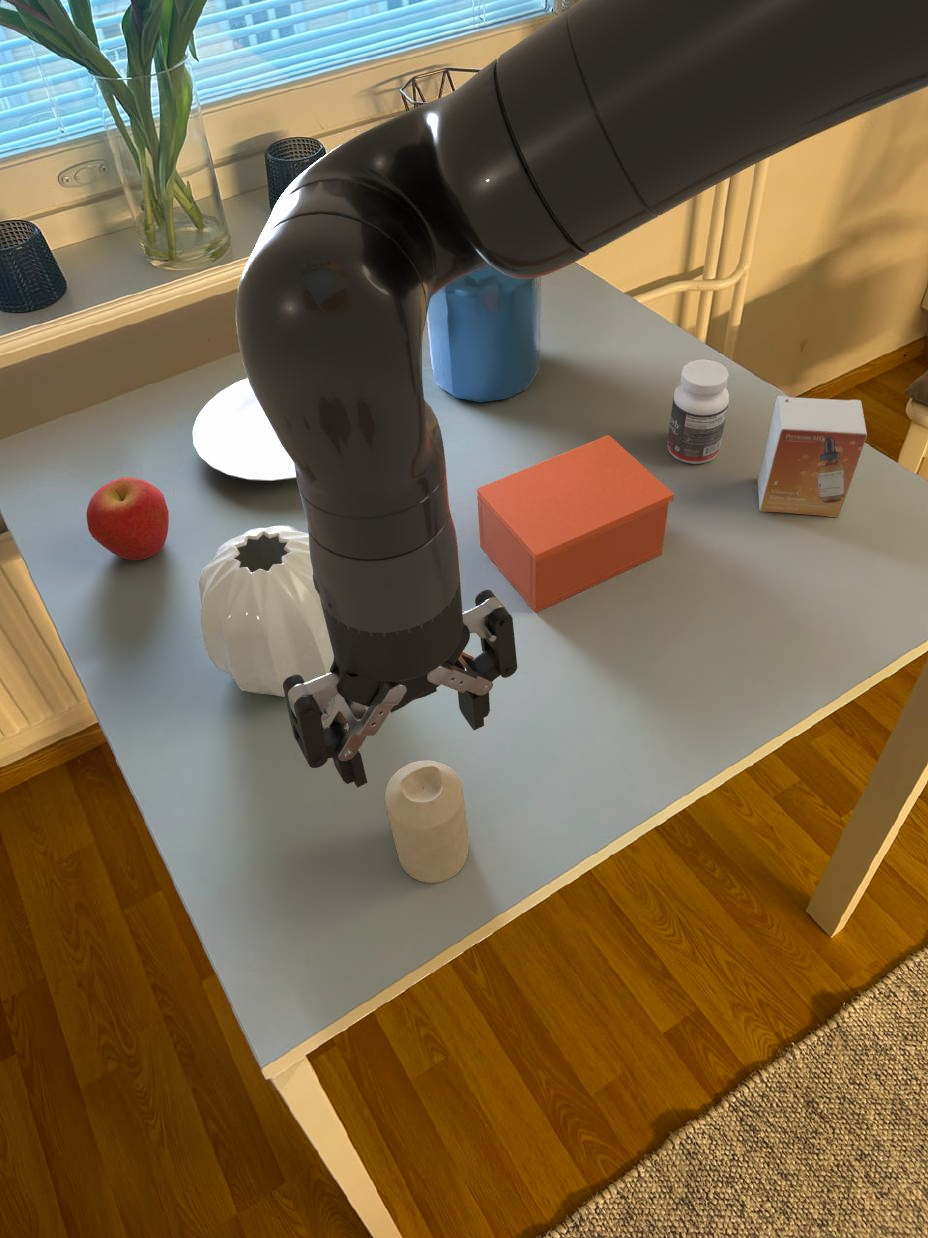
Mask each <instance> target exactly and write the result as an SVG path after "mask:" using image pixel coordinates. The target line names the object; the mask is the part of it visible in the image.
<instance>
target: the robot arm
mask: <svg viewBox="0 0 928 1238" xmlns="http://www.w3.org/2000/svg"><path fill="white" fill-rule="evenodd" d="M926 88H928V0H578V1H577V2H576V3H574V4H572V5H571V6H570V7H569V8H568V9H565V10H564V11H562V12H560V14H557V16H555V17H554V18H552V19H551V20H549V21H548V22H547V23H545V24H544V25H542V26H541V27H539V28H538V29H537V30H535V31H534V32H532V33H530V34H529V35H528V36H526V37H525V38H523V39H522V40H521V41H519V42H518V43H516V44H515V45H514V46H512V47H510V48H509V49H508V50H506V51H505V52H503V53H501V54H500V55H499V56H498V58H495V59H494V60H492V61H491V62H490V63H488V64H487V65H485V67H483V68H482V69H480V70H478V72H477V73H475V74H474V75H473V76H472V77H470V78H469V79H468V80H467V81H465V82H464V83H463V84H462V85H460V86H459V87H458V88H456V89H455V90H453V91H452V92H450V93H449V94H446V95H444V96H442V97H439V98H435V99H433V100H431V101H429V102H426V103H423V104H420V105H419V106H416V107H414V108H411V109H409V110H407V111H405V112H403V113H401V114H399V115H397V116H395V117H393V118H391V119H388V120H386V121H384V122H382V123H380V124H378V125H376V126H373V127H371V128H369V129H367V130H365V131H363V132H362V133H359V134H357V135H355V136H354V137H352V138H350V139H349V140H346V141H345V142H343V143H341V144H339V145H337V146H336V147H335V148H334V149H332V150H330V151H329V152H327V153H326V154H325V155H323V156H322V157H320V158H319V159H318V160H316V161H315V162H314V163H313V164H311V165H310V166H309V167H308V168H306V169H305V170H304V171H303V172H302V173H300V174H299V175H298V176H297V177H296V178H295V179H294V180H293V181H292V182H291V183H290V184H289V185H288V187H286V189H285V190H284V192H283V193H282V194H281V195H280V196H279V198H278V200H277V201H276V203H275V205H274V207H273V208H272V211H271V213H270V215H269V217H268V220H267V221H266V224H265V226H264V228H263V230H262V232H261V234H260V236H259V238H258V240H257V242H256V244H255V247H254V249H253V250H252V253H251V254H250V257H249V259H248V261H247V262H246V265H245V267H244V268H243V271H242V274H241V277H240V279H239V282H238V286H237V293H236V300H235V301H236V302H235V325H236V334H237V341H238V347H239V353H240V357H241V362H242V366H243V369H244V372H245V375H246V378H248V380H249V383H250V385H251V387H252V390H253V392H254V394H255V396H256V398H257V400H258V402H259V404H260V406H261V408H262V409H263V411H264V413H265V415H266V417H267V419H268V421H269V422H270V424H271V426H272V428H273V430H274V432H275V434H276V435H277V437H278V439H279V441H280V443H281V445H282V446H283V448H284V449H285V451H286V452H287V454H288V455H289V457H290V458H291V460H292V461H293V463H294V469H295V474H296V478H295V479H296V483H297V487H298V491H299V495H300V500H301V504H302V508H303V512H304V517H305V520H306V525H307V531H308V532H307V533H309V549H310V559H311V564H312V568H313V575H312V576H313V582H314V586H315V589H316V590H317V592H318V594H319V597H320V601H321V605H322V609H323V613H324V618H325V622H326V626H327V630H328V634H329V638H330V642H331V646H332V650H333V654H334V660H333V663H332V665H331V668H330V673H329V674H326V675H324V676H321V677H319V678H316V679H314V680H311V681H309V682H307V683H305V681H304V679H303V678H302V676H301V675H292V676H290V677H288V678H287V679H286V680H285V681H284V682H283V689H284V694H285V697H284V698H285V702H286V707H287V712H288V716H289V721H290V726H291V730H292V734H293V738H294V740H295V742H296V744H297V745H298V748H299V749H300V751H301V753H302V755H303V757H304V758H305V760H306V762H307V765H308V766H309V768H311V769H319V768H321V767H323V766H324V765H325V764H326V763H327V762H328V761H329V759H332V762H333V765H334V767H335V769H336V771H337V773H338V774H339V775H340V778H341V780H342V781H343V783H345V784H347V785H349V784H352V783H354V785H355V787H356V788H360V787H362V786H364V785H367V784H368V778H367V775H366V771H365V765H364V761H363V757H362V754H361V752H360V749H361V747H362V745H363V744H364V742H365V741H366V739H367V738H368V737H374V736H376V735H377V733H378V731H379V730H380V729H381V727H382V725H383V724H384V722H385V721H386V719H387V718H388V715H389V714H391V713H393V712H396V711H398V710H400V709H402V708H404V707H405V706H408V704H410V703H411V702H413V701H415V700H418V699H423V698H426V697H428V696H430V695H432V694H434V693H436V692H437V691H438V690H437V689H438V688H439V687H440V686H441V685H442V686H445V687H447V688H449V689H452V690H454V691H456V692H457V699H458V707H459V710H460V713H461V714H462V716H463V717H464V719H465V720H466V722H467V723H468V725H469V726H470V728H471V729H472V731H477V730H479V729H480V728H483V727H484V726H485V718H487V717H488V716H489V714H490V711H491V705H490V691H492V689H493V687H494V683H493V682H494V681H495V680H496V679H497V678H499V677H501V678H504V679H506V678H510V677H511V676H513V675H514V674H515V673H516V672H517V670H518V659H517V658H518V657H517V650H516V639H515V629H514V619H513V616H512V615H511V614H510V612H509V611H508V610H507V609H506V607H505V606H504V604H503V603H502V602H501V601H500V600H499V598H498V597H497V596H496V595H495V594H494V593H493V591H492V590H490V589H484V590H482V591H480V592H479V593H478V594H477V595H476V597H475V599H474V602H475V605H474V607H473V608H470V609H469V610H468V609H467V610H466V611H464V612H463V601H462V589H461V587H462V586H461V576H460V564H459V563H460V562H459V561H460V560H459V550H458V549H459V548H458V540H457V533H456V528H455V524H454V521H453V517H452V513H451V508H450V500H449V489H448V488H449V487H448V476H447V464H446V454H445V453H446V452H445V445H444V439H443V435H442V431H441V427H440V424H439V421H438V418H437V415H436V414H435V412H434V410H433V408H432V407H431V405H430V404H429V403H428V402H427V401H426V400H425V395H424V384H423V383H424V382H423V338H424V330H425V326H426V322H427V312H428V307H429V303H430V298H431V297H432V296H433V295H434V294H435V293H436V292H438V291H439V290H440V289H442V288H443V287H444V286H446V285H448V284H449V283H451V282H453V281H454V280H456V279H458V278H460V277H463V276H465V275H467V274H469V273H472V272H474V271H477V270H479V269H481V268H484V267H486V266H489V265H491V266H492V267H494V268H495V269H497V270H498V271H499V272H501V273H503V274H505V275H507V276H509V277H512V278H517V279H533V278H537V277H541V278H542V277H544V276H548V275H549V274H553V273H554V272H557V271H559V270H561V269H563V268H565V267H567V266H570V265H572V264H574V263H576V262H578V261H579V260H581V259H584V258H586V257H588V256H589V255H590V253H595V252H597V251H598V250H600V249H602V248H604V247H605V246H608V245H609V244H611V243H613V242H615V241H617V240H619V239H620V238H622V237H624V236H626V235H628V234H629V233H631V232H633V231H635V230H637V229H638V228H640V227H642V226H644V225H646V224H648V223H650V222H651V221H653V220H655V219H657V218H659V217H660V216H662V215H664V214H666V213H667V212H669V211H671V210H673V209H674V208H677V207H678V206H680V205H682V204H684V203H685V202H688V201H689V200H691V199H692V198H694V197H696V196H698V195H700V194H702V193H704V192H705V191H707V190H708V189H711V188H713V187H715V186H716V185H718V184H719V183H722V182H724V181H725V180H727V179H730V178H731V177H733V176H735V175H737V174H739V173H741V172H743V171H744V170H746V169H748V168H750V167H753V166H754V165H756V164H758V163H760V162H763V161H764V160H766V159H768V158H770V157H772V156H774V155H777V154H778V153H781V152H783V151H784V150H787V149H789V148H791V147H793V146H795V145H797V144H799V143H801V142H803V141H805V140H808V139H810V138H812V137H815V136H816V135H818V134H821V133H823V132H825V131H828V130H830V129H832V128H834V127H837V126H839V125H841V124H844V123H845V122H848V121H850V120H852V119H855V118H857V117H860V116H861V115H864V114H866V113H868V112H871V111H873V110H875V109H878V108H880V107H883V106H885V105H887V104H889V103H892V102H894V101H897V100H899V99H901V98H904V97H906V96H908V95H911V94H913V93H916V92H918V91H920V90H923V89H926ZM471 634H476V635H477V636H478V637H479V640H480V647H481V651H482V652H481V653H480V654H478V655H477V656H476V657H474V656H472V655H471V654H468V653H466V652H464V651H465V649H466V647H467V645H468V644H469V643H470V639H471ZM333 698H334V707H333V709H332V711H331V712H330V715H329V714H328V710H329V707H330V702H331V700H332V699H333ZM366 707H367V709H366ZM324 720H326V721H325V723H324V724H323V721H324ZM347 726H348V728H346V727H347Z"/></svg>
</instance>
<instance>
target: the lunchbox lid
mask: <svg viewBox="0 0 928 1238" xmlns="http://www.w3.org/2000/svg"><path fill="white" fill-rule="evenodd" d="M476 495H477V496H479V497H480V498H481V500H482V501H483V502H484V503H485V504H486V505H487V506H488V508H489V509H490V510H491V511H492V512H493V513H494V514H495V515H496V517H497V518H498V519H499V520H500V521H501V522H502V523H503V525H504V526H505V527H506V528H507V529H508V530H509V531H510V532H511V534H512V535H513V536H514V537H515V538H516V539H517V540H518V542H519V543H520V544H521V545H522V546H523V547H524V548H525V549H526V551H527V552H528V553H529V554H530V555H531V556H532V557H533V559H534V560H535V561H538V560H540V559H542V558H545V557H547V556H549V555H551V554H554V553H556V552H558V551H560V550H562V549H565V548H567V547H569V546H571V545H574V544H576V543H578V542H580V541H583V540H585V539H587V538H589V537H592V536H594V535H596V534H598V533H601V532H603V531H605V530H607V529H610V528H612V527H614V526H616V525H619V524H621V523H623V522H625V521H628V520H630V519H632V518H634V517H637V516H639V515H641V514H643V513H646V512H648V511H650V510H652V509H655V508H657V507H659V506H661V505H664V504H666V503H670V502H673V501H674V499H675V493H674V492H673V491H672V490H671V489H669V488H668V487H667V486H666V485H665V484H664V483H663V482H661V480H660V479H658V477H656V476H655V475H654V474H653V473H652V472H650V470H648V469H647V468H646V467H645V466H644V465H643V464H642V463H641V462H639V460H637V459H636V458H635V457H634V456H633V455H632V454H631V453H629V452H628V451H627V450H626V449H625V448H624V447H623V446H622V445H621V444H619V442H617V441H616V440H615V439H614V438H613V437H612V436H611V435H609V434H607V435H604V436H601V437H599V438H597V439H594V440H592V441H590V442H587V443H585V444H582V445H580V446H578V447H575V448H572V449H570V450H568V451H565V452H563V453H559V454H558V455H556V456H553V457H551V458H548V459H545V460H543V461H541V462H539V463H535V464H534V465H531V466H529V467H527V468H526V467H525V468H524V469H521V470H518V471H516V472H514V473H512V474H509V475H507V476H504V477H501V478H499V479H497V480H494V481H493V482H492V481H491V482H490V483H487V484H485V485H483V486H480V487H478V488H476Z"/></svg>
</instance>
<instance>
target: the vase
mask: <svg viewBox="0 0 928 1238" xmlns="http://www.w3.org/2000/svg"><path fill="white" fill-rule="evenodd" d="M312 575H313V568H312V564H311V559H310V549H309V532H304V531H300V530H299V529H297V528H295V527H294V526H292V525H273V526H272V525H271V526H268V527H254V528H251V529H249V530H246V531H245V532H244V533H242V534H241V535H238V536H235V537H233V538H231V539H229V540H227V541H226V542H223V543H222V544H221V545H219V547H218V548H217V550H216V552H215V554H214V558H213V559H212V560H210V561H209V563H207V565H205V566H204V567H203V568H202V569H201V573H200V576H199V580H198V593H199V600H200V625H201V632H202V639H203V643H204V648H205V651H206V654H207V655H208V656H207V657H208V658H209V660H210V661H211V663H212V665H214V667H215V668H216V669H217V670H219V671H221V672H222V673H225V674H226V675H229V676H230V677H232V678H233V680H234V682H235V683H236V685H237V687H238V688H239V690H241V691H242V692H248V693H253V694H260V695H268V696H269V695H271V696H277V697H284V698H285V694H284V689H283V682H284V681H285V680H286V679H287V678H288V677H290V676H292V675H301V676H302V678H303V679H304V681H305V683H307V682H309V681H311V680H314V679H316V678H319V677H321V676H324V675H326V674H329V673H330V668H331V665H332V663H333V660H334V654H333V650H332V646H331V642H330V638H329V634H328V630H327V626H326V622H325V618H324V613H323V609H322V605H321V601H320V597H319V594H318V592H317V590H316V589H315V586H314V582H313V576H312Z"/></svg>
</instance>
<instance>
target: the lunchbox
mask: <svg viewBox="0 0 928 1238" xmlns="http://www.w3.org/2000/svg"><path fill="white" fill-rule="evenodd" d="M476 497H477V498H476V499H477V514H478V531H479V533H478V535H479V547H480V548H481V550H483V552H484V553H485V554H486V555H487V557H488V558H489V559H490V560H491V561H492V562H493V563H494V565H495V566H496V567H497V569H498V570H499V571H500V572H501V573H502V574H503V576H504V577H505V578H506V579H507V580H508V581H509V582H510V584H511V586H512V587H514V589H515V590H516V591H517V593H518V594H519V595H520V596H521V597H522V598H523V599H524V601H525V602H526V603H527V605H529V607H530V608H531V609H532V610H533V612H534V613H539V612H540V611H543V610H545V609H548V608H549V607H551V606H554V605H555V604H558V603H561V602H562V601H564V600H566V599H569V598H570V597H573V596H575V595H577V594H580V593H582V592H584V591H586V590H588V589H590V588H593V587H594V586H597V585H598V584H601V583H603V582H605V581H607V580H610V579H611V578H614V577H616V576H618V575H620V574H622V573H625V572H627V571H629V570H631V569H633V568H636V567H638V566H640V565H642V564H644V563H646V562H648V561H650V560H653V559H655V558H657V557H659V556H661V555H662V554H663V547H664V546H663V545H664V540H665V532H666V526H667V525H666V524H667V518H668V511H669V504H670V502H668V503H666V504H664V505H661V506H659V507H657V508H655V509H652V510H650V511H648V512H646V513H643V514H641V515H639V516H637V517H634V518H632V519H630V520H628V521H625V522H623V523H621V524H619V525H616V526H614V527H612V528H610V529H607V530H605V531H603V532H601V533H598V534H596V535H594V536H592V537H589V538H587V539H585V540H583V541H580V542H578V543H576V544H574V545H571V546H569V547H567V548H565V549H562V550H560V551H558V552H556V553H554V554H551V555H549V556H547V557H545V558H542V559H540V560H538V561H535V560H534V559H533V557H532V556H531V555H530V554H529V553H528V552H527V551H526V549H525V548H524V547H523V546H522V545H521V544H520V543H519V542H518V540H517V539H516V538H515V537H514V536H513V535H512V534H511V532H510V531H509V530H508V529H507V528H506V527H505V526H504V525H503V523H502V522H501V521H500V520H499V519H498V518H497V517H496V515H495V514H494V513H493V512H492V511H491V510H490V509H489V508H488V506H487V505H486V504H485V503H484V502H483V501H482V500H481V498H480V497H479V496H478V495H477V496H476Z"/></svg>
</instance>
